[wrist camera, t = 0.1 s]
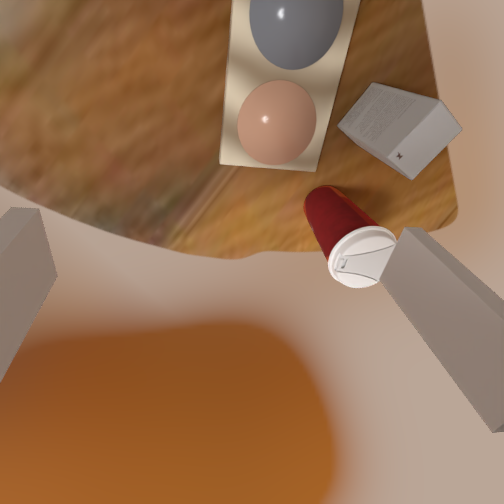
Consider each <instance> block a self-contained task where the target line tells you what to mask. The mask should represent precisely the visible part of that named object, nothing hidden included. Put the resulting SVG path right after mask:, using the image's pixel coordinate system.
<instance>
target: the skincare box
mask: <svg viewBox="0 0 504 504" xmlns="http://www.w3.org/2000/svg"><path fill="white" fill-rule="evenodd" d="M337 127H338V128H340V129H341V130H342V131H343V132H344V133H345V134H346V135H347V136H348V137H349V138H350V139H351V140H352V141H354V142H355V143H356V144H357V145H358V146H360V147H361V148H363V149H364V150H366V151H367V152H369V153H370V154H372V155H373V156H375V157H376V158H378V159H379V160H381V161H382V162H384V163H385V164H387V165H389V166H390V167H392V168H393V169H395V170H396V171H398V172H399V173H401V174H402V175H404V176H405V177H407V178H408V179H410V180H413V179H414V178H415V177H416V176H417V175H418V174H419V173H420V172H421V171H422V170H423V169H424V168H425V167H426V166H427V165H428V164H429V163H430V162H431V161H432V160H433V159H434V158H435V157H436V156H437V155H438V154H439V153H440V152H441V151H442V150H443V149H444V148H445V147H446V146H447V145H448V144H449V143H450V142H451V141H452V139H453V138H455V136H457V135H458V134H459V133H460V132H461V131H462V127H461V126H460V125H459V123H458V122H457V121H456V119H455V118H454V116H453V115H452V114H451V112H450V111H449V110H448V108H447V107H446V106H445V104H444V103H443V102H442V100H439V99H435V98H431V97H427V96H423V95H419V94H415V93H412V92H408V91H404V90H400V89H397V88H393V87H390V86H386V85H382V84H379V83H375V82H372V83H371V85H370V86H369V87H368V88H367V89H366V91H365V92H364V93H363V94H362V96H361V97H360V98H359V99H358V100H357V102H356V103H355V104H354V105H353V107H352V108H351V109H350V110H349V111H348V113H347V114H346V115H345V116H344V118H343V119H342V120H341V121H340V122H339V124H338V125H337Z"/></svg>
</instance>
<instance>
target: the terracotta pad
mask: <svg viewBox="0 0 504 504" xmlns="http://www.w3.org/2000/svg"><path fill="white" fill-rule="evenodd" d="M315 128H316V110H315V106H314V103H313V101H312V99H311V97H310V96H309V94H308V93H307V92H306V91H305V90H304V89H303V88H302V87H300V86H299V85H297V84H295V83H293V82H290V81H286V80H273V81H269V82H266V83H263V84H262V85H260V86H258V87H257V88H255V89H254V90H253V91H252V92H251V93H250V94H249V95H248V96H247V98H246V99H245V101H244V102H243V104H242V106H241V108H240V111H239V115H238V120H237V130H238V136H239V139H240V142H241V144H242V146H243V148H244V150H245V151H246V152H247V153H248V155H249V156H251V157H252V158H253V159H255V160H256V161H258V162H260V163H263V164H267V165H280V164H285V163H287V162H290V161H292V160H294V159H295V158H297V157H298V156H299V155H300V154H302V153H303V151H304V150H305V149H306V148H307V147H308V145H309V144H310V142H311V140H312V138H313V135H314V132H315Z"/></svg>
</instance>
